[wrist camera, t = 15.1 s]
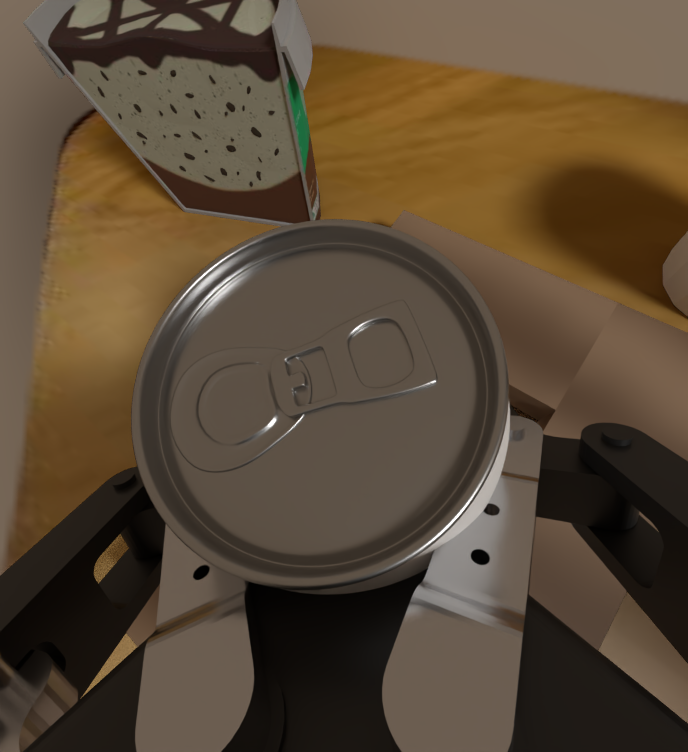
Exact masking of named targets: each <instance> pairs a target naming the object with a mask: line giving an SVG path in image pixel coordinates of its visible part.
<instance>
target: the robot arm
mask: <svg viewBox="0 0 688 752" xmlns="http://www.w3.org/2000/svg"><path fill="white" fill-rule="evenodd" d="M509 405H510V432H509V441H508V448H507V453H506V458H505V461H504V465H503V469H502V472H501V475H500V478H499V480H498V483H497V485H496V488H495V490H494V492H493V494H492V496H491V498H490V500H489V502H488V504H487V506H486V507H485V509H484V511H482V512H481V514H480V515H479V516H478V517H477V518H476V519H475V520H474V521H473V522H472V523H471V524H470V525H469V526H468V527H466V528H465V529H464V530H463V531H462V532H460V533H459V534H458V535H456V536H455V537H454V538H452V539H451V540H449V541H448V542H446V543H445V544H443V545H442V546H440V547H438V548H437V549H435V550H434V553H433V556H432V559H431V561H430V564H429V567H428V568H427V569H425V570H423V571H422V572H420V573H418V574H416V575H414V576H411V577H409V578H407V579H404V580H402V581H399V582H396V583H394V584H391V585H387V586H384V587H380V588H376V589H372V590H367V591H361V592H355V593H346V594H308V593H299V592H293V591H288V590H283V589H280V588H273V587H268V586H263V585H259V584H255V583H252V582H249V581H246V580H243V579H240V578H238V577H235V576H233V575H230V574H228V573H226V572H224V571H222V570H220V569H218V568H216V567H215V566H213V565H211V564H210V563H208V562H207V561H205V560H204V559H202V558H201V557H199V556H198V555H197V554H196V553H194V552H193V551H192V550H191V549H189V548H188V547H187V546H186V545H185V544H184V543H183V542H182V541H181V540H180V539H179V538H178V537H177V536H176V535H175V534H174V533H173V532H172V531H171V529H170V528H169V527H168V526H167V524H166V523H165V522H164V520H163V519H162V518H161V516H160V515H159V513H158V512H157V510H156V508H155V507H154V505H153V503H152V501H151V500H150V497H149V495H148V493H147V491H146V489H145V487H144V484H143V482H142V479H141V476H140V473H139V470H138V467H133V468H130V469H127V470H124V471H122V472H120V473H118V474H116V475H115V476H113V477H112V478H110V479H109V480H108V481H106V482H105V483H104V484H103V485H102V486H101V487H99V488H98V489H97V490H96V491H95V492H94V493H93V494H92V495H91V496H89V497H88V498H87V499H86V500H85V501H84V502H83V503H82V504H80V505H79V506H78V507H77V508H76V509H75V510H74V511H73V512H71V513H70V514H69V515H68V516H67V517H66V518H65V519H64V520H62V521H61V522H60V523H59V524H58V525H57V526H56V527H55V528H53V529H52V530H51V531H50V532H49V533H48V534H47V535H46V536H44V537H43V538H42V539H41V540H40V541H39V542H38V543H37V544H36V545H34V546H33V547H32V548H31V549H30V550H29V551H28V552H27V553H25V554H24V555H23V556H22V557H21V558H20V559H19V560H18V561H16V562H15V563H14V564H13V565H12V566H11V567H10V568H9V569H7V570H6V571H5V572H4V573H3V574H2V575H1V576H0V752H688V723H687V722H685V721H684V720H683V719H682V718H680V717H679V716H678V715H677V714H675V713H674V712H673V711H672V710H671V709H669V708H668V707H667V706H666V705H664V704H663V703H662V702H661V701H659V700H658V699H657V698H656V697H655V696H653V695H652V694H651V693H650V692H648V691H647V690H646V689H645V688H643V687H642V686H641V685H640V684H639V683H637V682H636V681H635V680H634V679H632V678H631V677H630V676H629V675H627V674H626V673H625V672H624V671H623V670H621V669H620V668H619V667H618V666H616V665H615V664H614V663H613V662H611V661H610V660H609V659H608V658H606V657H605V656H604V655H603V654H602V653H600V652H599V651H598V650H597V649H595V648H594V647H593V646H592V645H590V644H589V643H588V642H587V641H586V640H584V639H583V638H582V637H581V636H579V635H578V634H577V633H576V632H574V631H573V630H572V629H571V628H570V627H568V626H567V625H566V624H565V623H563V622H562V621H561V620H560V619H559V618H557V617H556V616H555V615H554V614H552V613H551V612H550V611H549V610H547V609H546V608H545V607H544V606H543V605H541V604H540V603H539V602H538V601H536V600H535V599H534V598H533V597H531V596H530V595H529V593H530V581H531V570H532V559H533V548H534V538H535V527H536V517H540V518H546V519H552V520H557V521H563V522H568V523H571V524H572V526H573V527H574V529H575V530H576V531H577V532H578V534H579V535H580V536H581V537H582V538H583V540H584V541H585V542H586V543H587V544H588V546H589V547H590V548H591V549H592V550H593V551H594V553H595V554H596V555H597V556H598V557H599V559H600V560H601V561H602V562H603V563H604V565H605V566H606V567H607V568H608V569H609V570H610V572H611V573H612V574H613V575H614V576H615V578H616V579H617V580H618V581H619V582H620V584H621V585H622V586H623V587H624V588H625V589H626V591H627V592H628V593H629V594H630V595H631V597H632V598H633V599H634V600H635V601H636V603H637V604H638V605H639V606H640V607H641V608H642V610H643V611H644V612H645V613H646V614H647V616H648V617H649V618H650V619H651V620H652V622H653V623H654V624H655V625H656V626H657V627H658V629H659V630H660V631H661V632H662V633H663V635H664V636H665V637H666V638H667V639H668V641H669V642H670V643H671V644H672V645H673V646H674V648H675V649H676V650H677V651H678V652H679V654H680V655H681V656H682V657H683V658H684V660H685V661H686V662H687V663H688V461H687V460H685V459H683V458H682V457H680V456H679V455H677V454H676V453H674V452H673V451H671V450H670V449H668V448H667V447H665V446H664V445H662V444H661V443H659V442H657V441H656V440H654V439H653V438H651V437H650V436H648V435H647V434H645V433H644V432H642V431H640V430H638V429H636V428H633V427H630V426H627V425H623V424H618V423H606V422H605V423H594V424H591V425H588V426H586V427H585V428H584V429H583V430H582V432H581V438H580V439H573V438H562V437H553V436H548V435H545V434H543V430H542V428H541V427H540V425H538V424H537V423H536V422H534V421H532V420H530V419H528V418H524V417H520V416H519V415H518V414H517V413H516V411H515V410H514V408H513V407H512V405H511V404H510V403H509ZM640 512H641V513H642V514H643V515H644V516H645V517H646V518H648V519H649V520H650V521H651V522H652V523H653V524H654V526H655V527H656V528H657V530H658V531H659V532H658V531H657V530H656V529H655V528H654V527H653V526H651V525H650V524H649V523H648V522H647V521H646V520H645V519H644V518H643V517H642V516H640V515H639V513H640ZM119 534H121V536H122V537H123V539H124V541H125V542H126V544H127V546H128V547H129V549H128V550H127V551H126V552H125V553H124V555H123V556H122V557H121V558H120V559H119V560H118V562H117V563H116V564H115V565H114V566H113V568H112V569H111V570H110V571H109V572H108V573H107V575H106V576H105V577H104V578H103V579H102V580H101V582H100V583H99V584H98V582H97V581H96V579H95V578H94V566H95V563H96V561H97V559H98V558H99V557H100V555H101V554H102V553H103V552H104V551H105V550H106V549H107V548H108V546H109V545H110V544H111V543H112V542H113V541H114V540H115V539H116V538H117V537H118V535H119ZM159 584H160V591H159V601H158V612H157V622H156V628H155V631H154V633H153V634H151V635H150V636H149V637H148V638H147V639H146V640H145V641H144V642H143V643H142V644H140V645H139V646H138V647H137V648H136V649H135V650H134V651H133V652H132V653H131V654H129V655H128V656H127V657H126V658H125V659H124V660H123V661H122V662H121V663H120V664H118V665H117V666H116V667H115V668H114V669H113V670H112V671H111V672H110V673H109V674H107V675H106V676H105V677H104V678H103V679H102V680H101V681H100V682H99V683H98V684H96V685H95V686H94V687H93V688H92V689H91V690H90V691H89V692H88V693H87V694H85V695H84V696H83V694H84V693H85V691H86V690H87V688H88V687H89V685H90V684H91V683H92V681H93V680H94V678H95V677H96V675H97V674H98V672H99V671H100V670H101V668H102V667H103V665H104V664H105V662H106V661H107V659H108V658H109V657H110V655H111V654H112V652H113V651H114V649H115V648H116V646H117V645H118V644H119V642H120V641H121V639H122V638H123V636H124V635H125V633H126V632H127V631H128V629H129V628H130V626H131V625H132V623H133V622H134V620H135V619H136V618H137V616H138V615H139V613H140V612H141V610H142V609H143V607H144V606H145V605H146V603H147V602H148V600H149V599H150V597H151V596H152V594H153V593H154V592H155V590H156V589H157V587H158V586H159ZM82 696H83V697H82ZM81 697H82V698H81ZM80 698H81V699H80Z"/></svg>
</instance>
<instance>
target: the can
mask: <svg viewBox="0 0 688 752" xmlns="http://www.w3.org/2000/svg"><path fill="white" fill-rule="evenodd" d="M131 430H132V441H133V448H134V454H135V459H136V463H137V467H138V470H139V473H140V476H141V479H142V482H143V484H144V487H145V489H146V491H147V493H148V495H149V497H150V500H151V501H152V503H153V505H154V507H155V508H156V510H157V512H158V513H159V515H160V516H161V518H162V519H163V520H164V522H165V523H166V524H167V526H168V527H169V528H170V529H171V531H172V532H173V533H174V534H175V535H176V536H177V537H178V538H179V539H180V540H181V541H182V542H183V543H184V544H185V545H186V546H187V547H188V548H189V549H191V550H192V551H193V552H194V553H196V554H197V555H198V556H199V557H201V558H202V559H204V560H205V561H207V562H208V563H210V564H211V565H213V566H215V567H216V568H218V569H220V570H222V571H224V572H226V573H228V574H230V575H233V576H235V577H238V578H240V579H243V580H246V581H249V582H252V583H255V584H259V585H263V586H268V587H273V588H280V589H283V590H288V591H293V592H299V593H308V594H346V593H355V592H361V591H367V590H372V589H376V588H380V587H384V586H387V585H391V584H394V583H396V582H399V581H402V580H404V579H407V578H409V577H411V576H414V575H416V574H418V573H420V572H422V571H423V570H425V569H427V568H428V567H429V564H430V561H431V559H432V556H433V553H434V550H435V549H437V548H438V547H440V546H442V545H443V544H445V543H446V542H448V541H449V540H451V539H452V538H454V537H455V536H456V535H458V534H459V533H460V532H462V531H463V530H464V529H465V528H466V527H468V526H469V525H470V524H471V523H472V522H473V521H474V520H475V519H476V518H477V517H478V516H479V515H480V514H481V512H482V511H484V509H485V507H486V506H487V504H488V502H489V500H490V498H491V496H492V494H493V492H494V490H495V488H496V485H497V483H498V480H499V478H500V475H501V472H502V469H503V465H504V461H505V458H506V453H507V448H508V441H509V432H510V405H509V376H508V367H507V360H506V355H505V350H504V346H503V342H502V339H501V336H500V333H499V330H498V327H497V325H496V322H495V320H494V318H493V316H492V314H491V312H490V310H489V308H488V306H487V304H486V302H485V301H484V299H483V298H482V296H481V294H480V293H479V292H478V290H477V289H476V287H475V286H474V285H473V284H472V282H471V281H470V280H469V279H468V278H467V276H466V275H465V274H464V273H463V272H462V271H461V270H460V269H459V268H458V267H457V266H456V265H455V264H454V263H453V262H451V261H450V260H449V259H448V258H447V257H445V256H444V255H443V254H441V253H440V252H439V251H437V250H436V249H434V248H433V247H431V246H430V245H428V244H426V243H425V242H423V241H421V240H419V239H417V238H415V237H413V236H411V235H409V234H406V233H404V232H401V231H399V230H396V229H393V228H390V227H386V226H383V225H379V224H375V223H370V222H364V221H356V220H343V219H327V220H314V221H306V222H300V223H295V224H291V225H287V226H283V227H279V228H276V229H273V230H270V231H267V232H265V233H262V234H259V235H257V236H255V237H252V238H250V239H248V240H246V241H244V242H242V243H240V244H238V245H237V246H235V247H233V248H231V249H230V250H228V251H227V252H225V253H224V254H222V255H221V256H219V257H218V258H216V259H215V260H214V261H212V262H211V263H210V264H208V265H207V266H206V267H205V268H204V269H202V270H201V271H200V272H199V273H198V274H197V275H196V276H195V277H194V278H193V279H192V280H191V281H190V282H189V283H188V284H187V285H186V286H185V287H184V288H183V289H182V290H181V291H180V292H179V294H178V295H177V296H176V297H175V298H174V300H173V301H172V302H171V304H170V305H169V306H168V308H167V309H166V311H165V312H164V314H163V315H162V317H161V318H160V320H159V322H158V324H157V325H156V327H155V329H154V331H153V333H152V335H151V337H150V339H149V341H148V343H147V346H146V348H145V350H144V353H143V356H142V359H141V362H140V365H139V368H138V372H137V376H136V380H135V385H134V391H133V398H132V409H131Z"/></svg>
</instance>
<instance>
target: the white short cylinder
mask: <svg viewBox="0 0 688 752" xmlns="http://www.w3.org/2000/svg"><path fill="white" fill-rule="evenodd" d="M663 286H664V288H665V290H666V292H667V294H668V295H669V297H670V299H671V301H672V303H673V305H674V306H675V307H677V308H678V309H679V310H680V311H681V312H683V313H684V314H685V315H686V316H687V317H688V231H687V232H686V234H685V235H684V236H683V237H682V238H681V239H680V241H679V242H678V243H677V244H676V245H675V246H674V248H673V249H672V250H671V252H670V254H669V255H668V257H667V259H666V261H665V262H664V264H663Z"/></svg>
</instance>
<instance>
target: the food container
mask: <svg viewBox="0 0 688 752" xmlns="http://www.w3.org/2000/svg"><path fill="white" fill-rule="evenodd" d="M23 24H24V25H25V26H26V28H27V29H28V30H29V32H30V33H31V34H32V36H33V37H34V38H35V39H36V40H35V41H34V43H35V45H36V46H37V48H38V49H39V51H40V52H41V54H42V55H43V56H44V58H45V59H46V61H47V62H48V64H49V65H50V67H51V68H52V70H53V71H54V73H55V74H56V75H57V77H58V78H62V77H63V76H64V75H65V74H66V75H67V77H69V79H70V80H71V81H72V82H73V83H74V85H75V86H76V87H77V88H78V89H79V90H80V92H81V93H82V94H83V95H84V96H85V97H86V99H87V100H88V101H89V102H90V103H91V104H92V106H93V107H94V108H95V109H96V110H97V111H98V112H99V114H100V115H101V116H102V117H103V118H104V119H105V121H106V122H107V123H108V124H109V125H110V126H111V128H112V129H113V130H114V131H115V132H116V133H117V134H118V136H119V137H120V138H121V139H122V140H123V141H124V143H125V144H126V145H127V146H128V147H129V148H130V150H131V151H132V152H133V153H134V154H135V155H136V157H137V158H138V159H139V160H140V161H141V162H142V163H143V165H144V166H145V167H146V168H147V169H148V170H149V172H150V173H151V174H152V175H153V176H154V177H155V179H156V180H157V181H158V182H159V183H160V184H161V185H162V187H163V188H164V189H165V190H166V191H167V192H168V194H169V195H170V196H171V197H172V198H173V199H174V201H175V202H176V203H177V204H178V205H179V206H180V208H181V209H182V210H183V211H184V212H189V213H196V214H202V215H209V216H216V217H222V218H229V219H236V220H242V221H249V222H256V223H262V224H269V225H276V226H287V225H291V224H295V223H300V222H306V221H314V220H320V216H321V213H320V195H319V188H318V182H317V176H316V169H315V163H314V157H313V151H312V144H311V138H310V132H309V125H308V119H307V113H306V106H305V100H304V94H303V90H304V89H305V86H306V84H307V81H308V78H309V75H310V71H311V64H312V57H313V53H312V42H311V38H310V35H309V33H308V30H307V27H306V24H305V22H304V19H303V17H302V14H301V11H300V9H299V6H298V3H297V1H296V0H45V1H44V2H43V3H42V4H41V5H40V6H39V7H38V8H36V9H35V10H34V11H33V13H32V14H31V15H30V16H29V17H28V18H27V19H26V20H25V21H24V22H23Z"/></svg>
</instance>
